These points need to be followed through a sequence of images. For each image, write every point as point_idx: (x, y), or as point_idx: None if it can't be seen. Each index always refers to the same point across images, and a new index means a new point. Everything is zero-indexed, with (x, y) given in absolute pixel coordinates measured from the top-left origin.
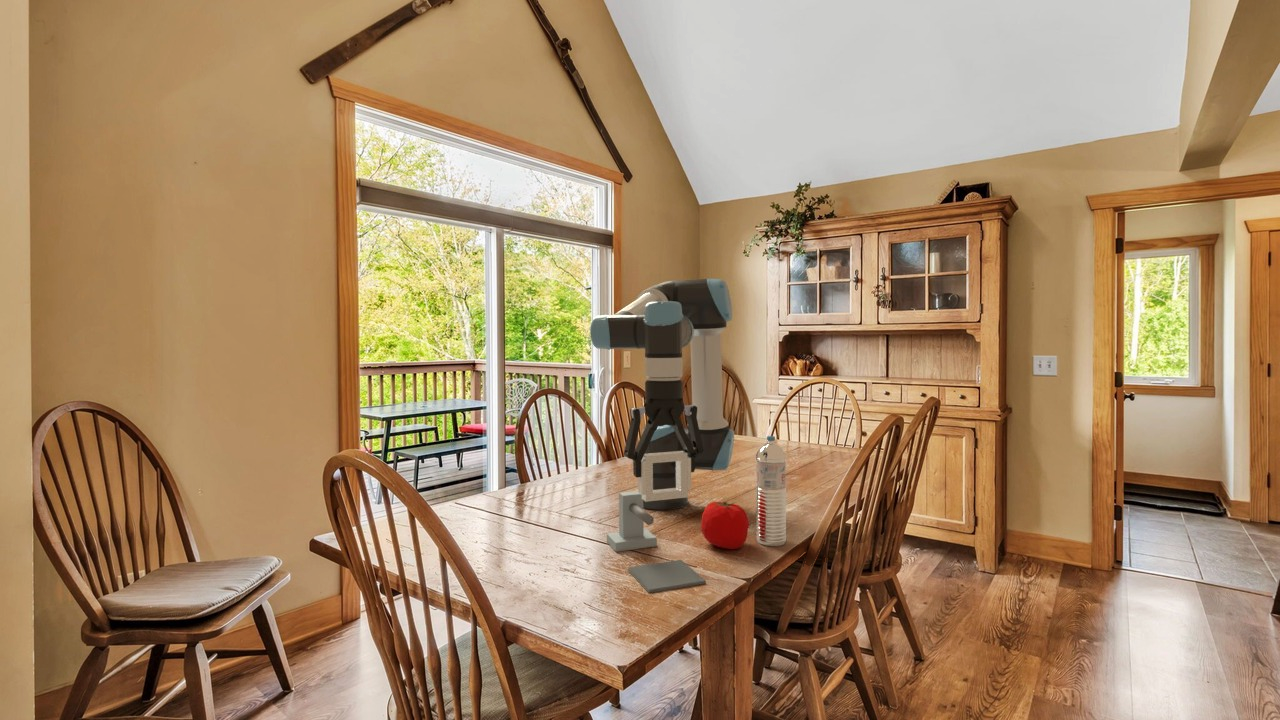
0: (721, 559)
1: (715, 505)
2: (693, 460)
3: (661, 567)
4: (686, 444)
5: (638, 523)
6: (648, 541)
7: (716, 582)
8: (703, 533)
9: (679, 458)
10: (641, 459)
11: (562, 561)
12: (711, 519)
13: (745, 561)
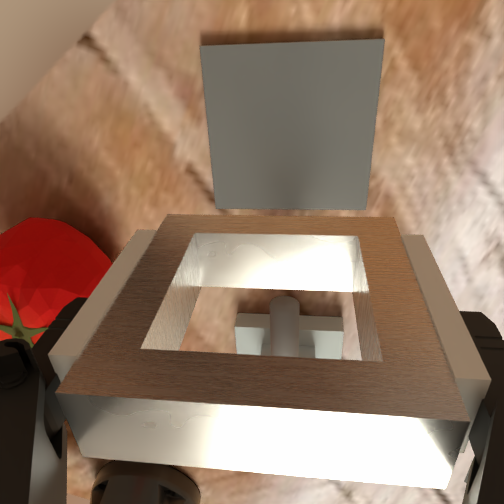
0: (110, 187)
1: None
2: (39, 351)
3: (283, 178)
4: (18, 466)
5: None
6: (257, 322)
7: (169, 42)
8: None
9: (143, 364)
10: (500, 402)
11: (487, 310)
12: (83, 292)
13: (53, 153)
